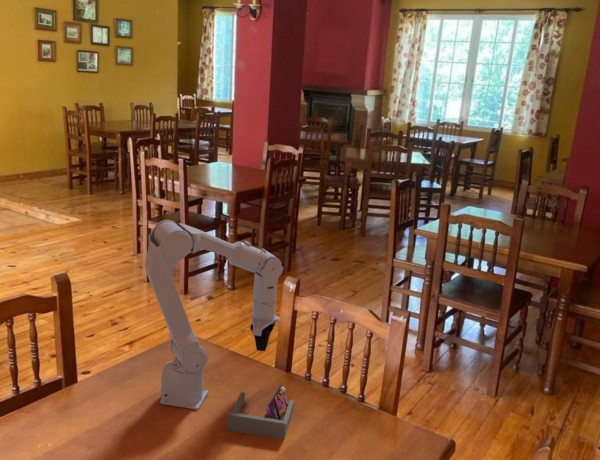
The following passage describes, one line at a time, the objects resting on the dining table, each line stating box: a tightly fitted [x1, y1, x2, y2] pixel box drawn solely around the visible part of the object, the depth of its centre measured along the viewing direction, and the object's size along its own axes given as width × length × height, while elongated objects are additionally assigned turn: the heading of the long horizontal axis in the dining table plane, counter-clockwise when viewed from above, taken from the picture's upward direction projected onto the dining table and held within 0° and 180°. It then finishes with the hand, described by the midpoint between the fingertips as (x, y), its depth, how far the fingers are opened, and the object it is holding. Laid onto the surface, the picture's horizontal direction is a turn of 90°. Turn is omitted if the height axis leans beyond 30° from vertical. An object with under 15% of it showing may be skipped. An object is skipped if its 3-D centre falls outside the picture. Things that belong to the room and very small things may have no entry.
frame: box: [226, 391, 295, 440], centre depth 132 cm, size 13×12×4 cm
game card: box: [262, 384, 289, 420], centre depth 133 cm, size 7×5×9 cm
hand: (261, 349), depth 145 cm, fingers closed
